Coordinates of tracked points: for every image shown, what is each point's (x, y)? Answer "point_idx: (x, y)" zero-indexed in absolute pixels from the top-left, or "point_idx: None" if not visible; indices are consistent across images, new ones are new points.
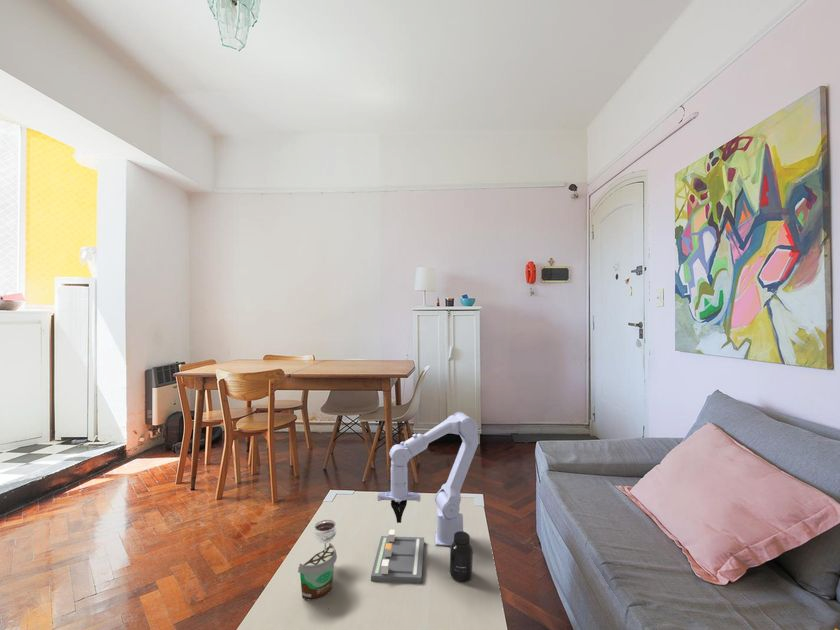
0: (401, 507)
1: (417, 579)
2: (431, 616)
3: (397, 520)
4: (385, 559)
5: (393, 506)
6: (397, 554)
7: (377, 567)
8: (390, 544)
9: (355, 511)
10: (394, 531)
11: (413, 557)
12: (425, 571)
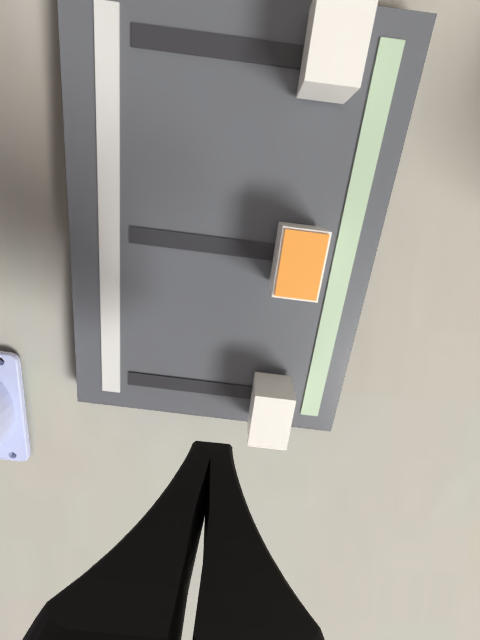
0: (131, 596)
1: None
2: None
3: (225, 456)
4: (336, 82)
5: (282, 629)
6: (235, 249)
7: (379, 110)
8: (286, 284)
9: (440, 624)
10: (253, 428)
11: (128, 214)
12: (57, 114)
